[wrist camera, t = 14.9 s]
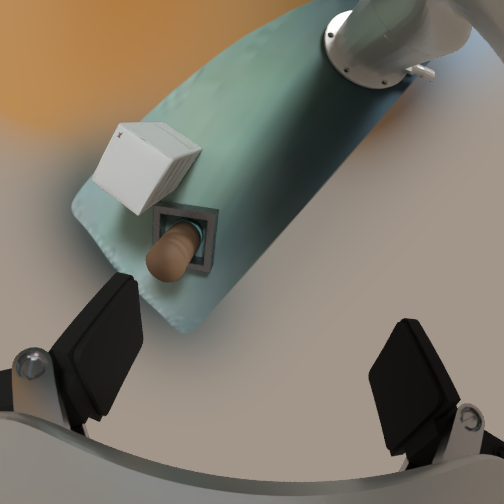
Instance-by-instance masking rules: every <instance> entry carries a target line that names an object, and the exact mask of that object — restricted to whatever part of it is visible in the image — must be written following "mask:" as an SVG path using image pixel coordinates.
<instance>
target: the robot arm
mask: <svg viewBox="0 0 504 504" xmlns="http://www.w3.org/2000/svg"><path fill="white" fill-rule="evenodd" d="M472 26H473V27H474V28H475V29H476V30H477V31H478V32H479V33H480V35H481V36H482V37H483V38H484V39H485V40H486V41H487V42H488V43H489V45H490V46H491V47H492V48H493V50H494V51H495V52H496V54H497V55H498V56H499V58H500V59H501V61H502V62H503V63H504V0H359V2H358V3H357V5H356V6H355V7H354V9H353V10H352V11H346V12H343V13H340V14H339V15H337V16H335V17H334V18H333V19H332V20H331V21H330V22H329V24H328V25H327V27H326V30H325V33H324V48H325V52H326V54H327V56H328V58H329V60H330V62H331V63H332V65H333V66H334V68H335V69H336V70H337V71H338V72H339V73H340V74H341V75H343V76H344V77H345V78H346V79H348V80H350V81H351V82H353V83H355V84H357V85H360V86H362V87H366V88H370V89H383V88H388V87H391V86H393V85H395V84H397V83H399V82H400V81H401V80H402V79H403V78H404V76H405V75H406V73H408V74H410V75H413V74H416V75H418V76H420V77H421V78H423V79H425V80H427V81H429V82H432V81H433V80H434V78H435V72H434V71H433V70H431V69H429V68H427V67H425V66H422V65H420V63H423V62H427V61H429V60H432V59H435V58H438V57H441V56H444V55H447V54H450V53H453V52H455V51H457V50H459V49H460V48H461V47H463V46H464V45H465V43H466V42H467V40H468V39H469V36H470V33H471V30H472ZM328 36H331V38H330V37H328ZM344 70H346V71H347V73H346V72H344ZM382 82H383V83H384V84H382ZM142 344H143V331H142V322H141V313H140V303H139V291H138V282H137V281H136V280H134V278H133V276H132V275H128V274H124V273H119V272H117V273H115V274H114V275H113V277H112V278H111V279H110V280H109V281H108V282H107V283H106V284H105V285H104V286H103V287H102V288H101V290H100V291H99V292H98V293H97V294H96V295H95V296H94V297H93V299H92V300H91V301H90V302H89V303H88V304H87V305H86V306H85V308H84V309H83V310H82V311H81V312H80V313H79V314H78V316H77V317H76V318H75V319H74V320H73V322H72V323H71V324H70V325H69V326H68V328H67V329H66V330H65V331H64V333H63V334H62V335H61V336H60V337H59V339H58V340H57V341H56V342H55V344H54V345H53V346H52V348H51V349H50V351H49V352H47V351H45V350H44V349H42V348H37V347H34V348H28V349H25V350H23V351H21V352H20V353H19V354H18V355H17V356H16V357H15V359H14V361H13V365H12V368H11V369H7V370H3V371H0V504H504V442H503V441H501V440H500V439H498V438H497V437H495V436H493V435H492V434H490V433H488V432H487V431H485V430H484V426H485V421H484V417H483V415H482V413H481V411H480V410H479V409H478V408H477V407H475V406H474V405H472V404H462V405H461V406H460V407H459V408H458V409H457V406H456V405H457V403H458V402H459V401H460V400H461V399H460V397H459V395H458V393H457V391H456V389H455V387H454V385H453V383H452V380H451V378H450V377H449V375H448V373H447V371H446V369H445V367H444V365H443V363H442V361H441V359H440V358H439V356H438V354H437V352H436V350H435V349H434V347H433V345H432V343H431V341H430V340H429V338H428V336H427V335H426V333H425V331H424V330H423V328H422V326H421V325H420V323H419V321H418V320H416V319H407V318H404V319H402V320H401V321H400V322H398V323H397V324H396V326H395V328H394V329H393V332H392V333H391V335H390V337H389V339H388V340H387V342H386V344H385V346H384V348H383V349H382V351H381V353H380V354H379V356H378V358H377V359H376V361H375V363H374V364H373V366H372V368H371V369H370V372H369V382H370V385H371V389H372V392H373V396H374V400H375V403H376V407H377V411H378V415H379V419H380V423H381V426H382V431H383V435H384V439H385V443H386V447H387V449H388V450H390V453H391V456H397V455H402V454H404V453H406V456H407V457H406V459H405V461H404V463H403V465H402V467H401V468H400V470H399V472H396V473H392V474H386V475H380V476H374V477H367V478H359V479H351V480H339V481H325V482H273V481H257V480H246V479H238V478H229V477H223V476H216V475H210V474H205V473H199V472H194V471H190V470H185V469H180V468H177V467H172V466H169V465H164V464H161V463H158V462H154V461H151V460H147V459H144V458H141V457H138V456H135V455H132V454H129V453H126V452H123V451H120V450H117V449H115V448H112V447H109V446H107V445H104V444H102V443H99V442H97V441H94V440H92V439H90V438H89V435H88V433H87V429H86V426H85V423H86V421H87V419H88V417H89V418H92V419H94V420H96V421H99V422H100V420H101V418H102V416H106V415H107V414H108V413H109V411H110V409H111V406H112V405H113V402H114V400H115V398H116V396H117V394H118V392H119V390H120V388H121V386H122V384H123V382H124V380H125V378H126V376H127V374H128V372H129V370H130V368H131V366H132V364H133V362H134V360H135V358H136V356H137V354H138V353H139V351H140V349H141V347H142Z"/></svg>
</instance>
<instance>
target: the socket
mask: <svg viewBox="0 0 504 504" xmlns="http://www.w3.org/2000/svg"><path fill="white" fill-rule="evenodd" d="M166 214H168V215H175V216H181V217H188V218H195V219H201V220H207V221H208V222H207V233H206V243H205V255H204V258H203V257H197V256H193V257H192V259H191V261H190V263H189V264H188V266H187V268H186V269H191V270H197V271H202V272H208V273H210V271H211V269H212V266H213V260H214V250H215V241H216V231H217V223H218V214H219V209H212V208H206V207H199V206H192V205H185V204H178V203H171V202H163V201H160V202H158V203H157V204H155V205H154V212H153V246H154V244H155V243H156V242H157V241H158V240H159V239H160V238H161V237H162V236H163V235H164V234H165V220H166Z"/></svg>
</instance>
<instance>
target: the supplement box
mask: <svg viewBox="0 0 504 504" xmlns="http://www.w3.org/2000/svg"><path fill="white" fill-rule="evenodd" d="M201 151H202V148H201V147H199V146H198V145H196V144H195V143H194V142H192V141H191V140H189V139H188V138H186V137H185V136H184V135H182V134H181V133H179V132H178V131H176V130H175V129H173V128H172V127H170V126H169V125H167V124H166V123H164V122H163V123H158V122H157V123H155V122H154V123H152V122H150V123H146V122H145V123H119V125H118V127H117V129H116V131H115V133H114V135H113V136H112V139H111V140H110V142H109V144H108V146H107V148H106V150H105V152H104V154H103V156H102V158H101V160H100V163H99V165H98V167H97V169H96V171H95V173H94V176H93V178H92V181H93V182H94V183H95V184H97V185H98V186H99V187H101V188H102V189H103V190H105V191H106V192H107V193H108V194H110V195H111V196H112V197H114V198H115V199H116V200H118V201H119V202H120V203H122V204H123V205H124V206H126V207H127V208H128V209H130V210H131V211H132V212H134V213H135V214H136V215H138V216H139V215H140V214H142V213H143V212H144V211H146V210H147V209H148V208H150V207H151V206H152V205H154V204H155V203H156V202H158V201H159V200H161V199H162V198H164V197H165V196H167V195H168V194H170V193H171V192H173V191H174V190H175V189H176V188H177V186H178V185H179V183H180V182H181V180H182V178H183V177H184V175H185V174H186V172H187V171H188V170H189V168H190V167H191V165H192V164H193V162H194V161H195V159H196V158H197V156H198V155H199V153H200V152H201Z"/></svg>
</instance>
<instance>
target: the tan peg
mask: <svg viewBox="0 0 504 504" xmlns="http://www.w3.org/2000/svg"><path fill="white" fill-rule="evenodd" d="M202 240H203V230H202V228H201V226H200V224H199V223H198V222H197V221H195V220H193V219H191V218H181V219H179V220H177V221H176V222H175V223H174V224H173V225H172V226H171V227H170V228H169V229H168V230H167V232H166V233H165V234H164V235H163V236H162V237H161V238H160V239H159V240H158V241H157V242H156V243H155V244H154V246H153V247H152V248H151V249H150V250H149V251H148V253H147V256H146V265H147V268H148V270H149V271H150V273H151V274H152V275H153V276H154V277H155V278H157V279H158V280H160V281H163V282H174V281H177V280H178V279H180V278H181V277H182V275H183V273H184V272H185V270H186V268H187V266H188V264H189V263H190V261H191V259H192V257H193V256H194V254H195V252H196V250H197V249H198V247H199V245H200V244H201V242H202Z"/></svg>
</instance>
